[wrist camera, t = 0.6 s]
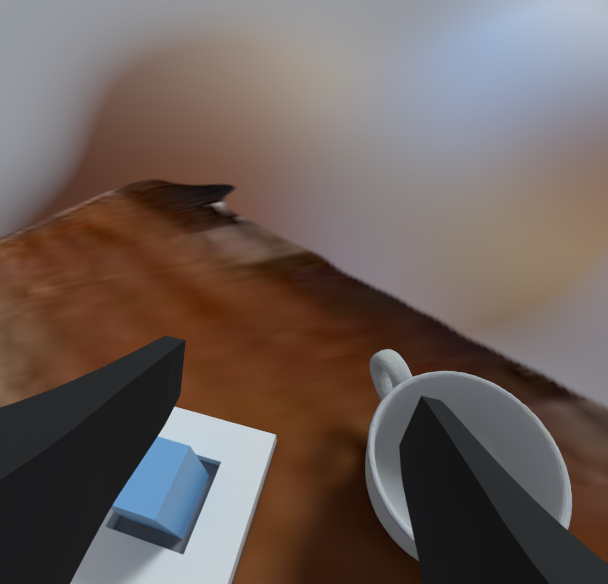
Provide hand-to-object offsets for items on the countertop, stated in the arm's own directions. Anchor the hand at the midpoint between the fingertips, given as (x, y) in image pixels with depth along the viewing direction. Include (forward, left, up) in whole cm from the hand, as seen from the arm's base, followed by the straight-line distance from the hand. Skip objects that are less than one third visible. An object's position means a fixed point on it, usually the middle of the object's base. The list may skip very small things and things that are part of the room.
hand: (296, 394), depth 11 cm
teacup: (+6, -8, -19) cm, 21 cm away
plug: (-1, +9, -18) cm, 20 cm away
